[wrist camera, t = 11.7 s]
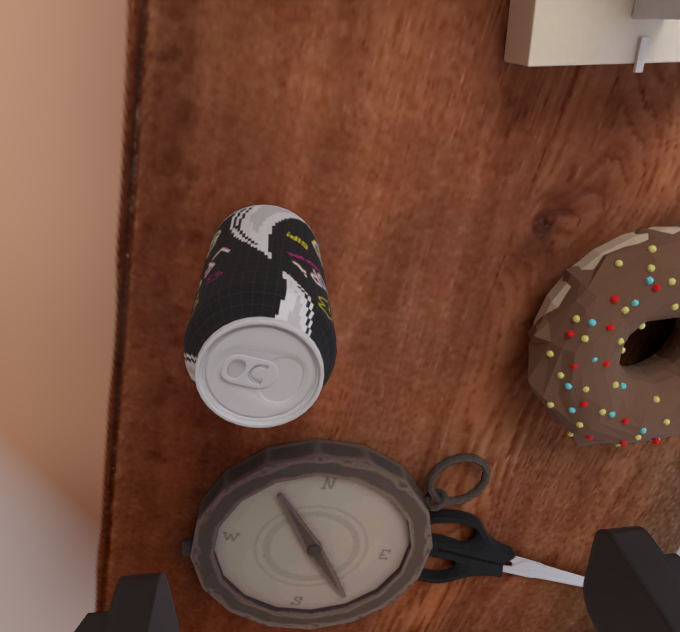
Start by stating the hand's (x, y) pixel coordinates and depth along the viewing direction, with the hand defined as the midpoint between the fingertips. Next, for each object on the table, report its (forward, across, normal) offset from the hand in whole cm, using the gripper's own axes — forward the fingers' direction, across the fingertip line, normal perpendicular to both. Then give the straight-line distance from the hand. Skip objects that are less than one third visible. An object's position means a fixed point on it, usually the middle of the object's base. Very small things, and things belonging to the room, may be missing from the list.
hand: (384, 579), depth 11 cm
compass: (+22, 0, +23) cm, 32 cm away
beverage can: (+22, +3, +2) cm, 22 cm away
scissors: (+22, -14, +28) cm, 38 cm away
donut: (+22, -18, +8) cm, 30 cm away
